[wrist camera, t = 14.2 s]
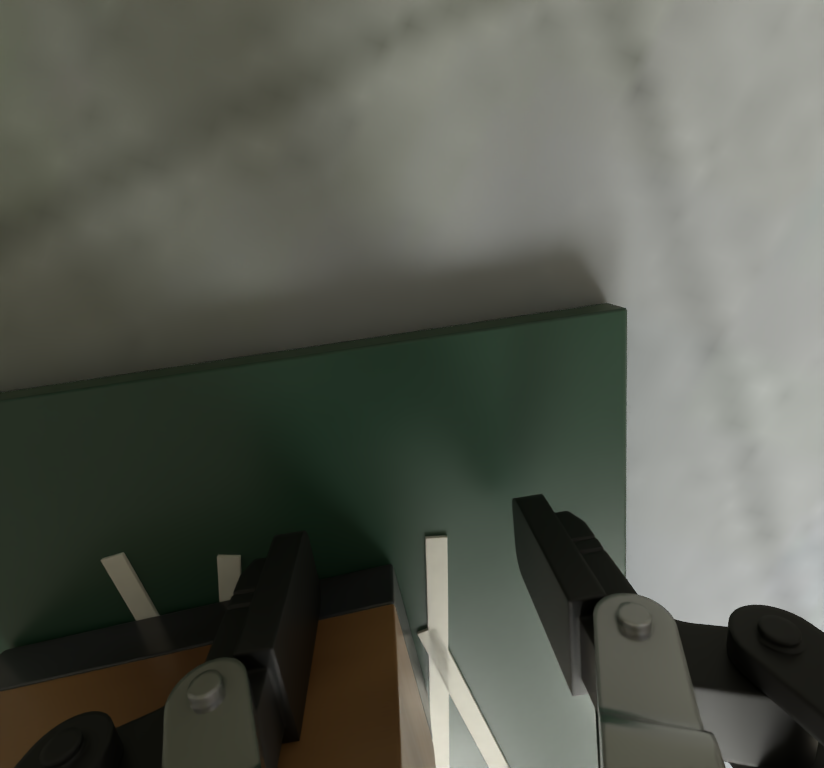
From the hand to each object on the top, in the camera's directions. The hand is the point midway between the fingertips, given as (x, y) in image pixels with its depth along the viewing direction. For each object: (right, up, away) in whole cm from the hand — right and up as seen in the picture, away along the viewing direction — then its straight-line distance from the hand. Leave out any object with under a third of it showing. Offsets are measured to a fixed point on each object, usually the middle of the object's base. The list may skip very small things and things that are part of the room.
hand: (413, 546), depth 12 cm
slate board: (-2, -5, +4) cm, 7 cm away
